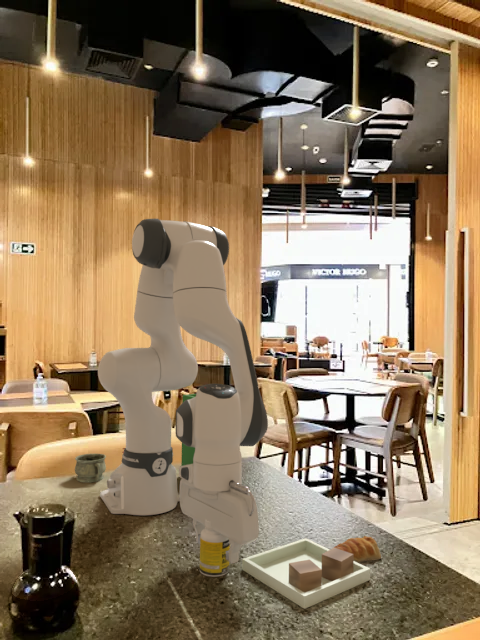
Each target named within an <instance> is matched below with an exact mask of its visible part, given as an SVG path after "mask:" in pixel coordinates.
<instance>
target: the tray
mask: <svg viewBox="0 0 480 640" xmlns="http://www.w3.org/2000/svg"><path fill="white" fill-rule="evenodd" d="M329 550H330V548H327V547H325V546H323V545H321V544H319V543H317V542H315V541H313V540H311V539H308V538H306V537H305V538H302V539H298V540H296V541H293V542H290V543H288V544H283V545H279V546H278V547H274V548H272V549H268V550H266V551H262V552H259V553H256V554H253V555H249V556H248V557H247V556H246V557H244V558H242V563H241V565H242V566H241V568H242V569H241V570H242V571H243V572H245V573H247V574H248V575H250V576H251V577H253V578H255V579H257V580H258V581H259V582H260V583H262V584H263V585H265V586H267V587H269V588H270V589H272V590H274V591H276V593H278V594H280V595H281V596H283V597H285V598H287V599H288V600H289V601H291V602H293V603H294V604H296V605H298V606H299V607H300V608H303V609H304V610H305V609H308V608H310V607H313V606H315V605H316V604H319V603H322V602H324V601H326V600H329V599H331V598H333V597H335V596H337V595H339V594H342V593H344V592H346V591H348V590H351V589H353V588H355V587H358V586H360V585H362V584H364V583H366V582H368V581H371V568H370V567H368V566H365V565H363V564H361V563H360V562H355V561H353V573H351V574H349V575H346V576H344V577H341V578H339V579H337V580H334V581H330V580H327V579H325V578H323V577H322V586H320V587H317V588H315V589H313V590H310V591H308V592H305V593H304V592H302V591H301V590H299V589H297V588H296V587H294V586H292V585H291V584H289V563H293V562H298V561H304V560H311V561H312V562H313V563H314V564H316V565H317V566H318V567H319V568H320V569H321V570H322V554H323V553H325V552H327V551H329Z"/></svg>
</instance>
